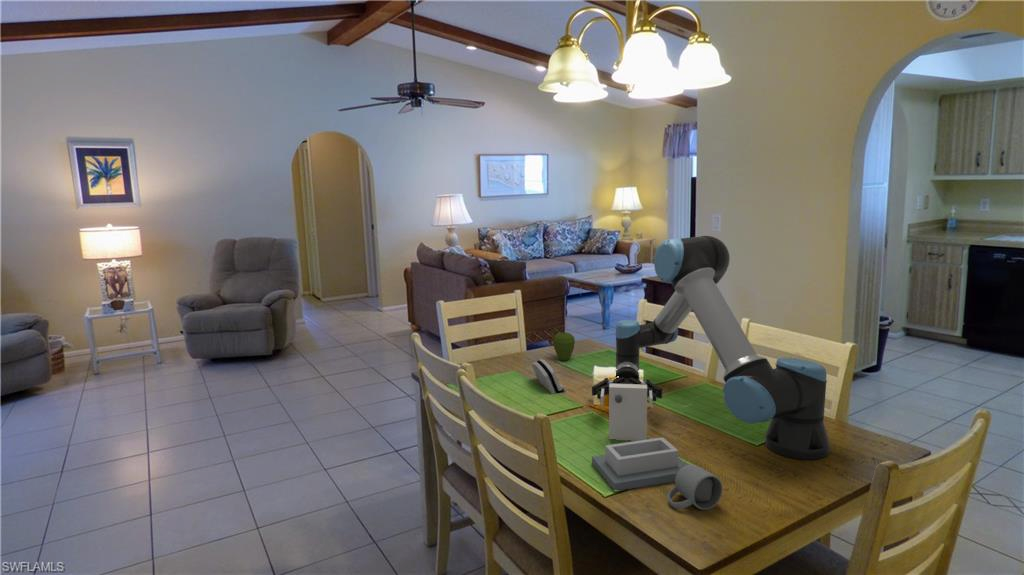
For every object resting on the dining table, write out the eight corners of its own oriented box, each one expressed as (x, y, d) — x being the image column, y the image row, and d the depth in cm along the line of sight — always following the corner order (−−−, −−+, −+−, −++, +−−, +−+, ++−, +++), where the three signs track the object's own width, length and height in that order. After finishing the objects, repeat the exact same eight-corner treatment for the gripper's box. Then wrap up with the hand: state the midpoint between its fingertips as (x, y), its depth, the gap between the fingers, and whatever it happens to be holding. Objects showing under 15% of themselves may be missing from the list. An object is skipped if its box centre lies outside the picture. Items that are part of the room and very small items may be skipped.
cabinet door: (646, 436, 165) (646, 384, 162) (646, 443, 161) (647, 390, 158) (609, 434, 167) (609, 383, 164) (608, 441, 163) (608, 388, 160)
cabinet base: (664, 453, 155) (665, 431, 154) (693, 478, 142) (694, 454, 141) (591, 464, 150) (591, 441, 149) (614, 491, 137) (614, 467, 136)
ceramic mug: (699, 488, 137) (699, 457, 136) (723, 505, 130) (723, 473, 128) (659, 498, 134) (659, 466, 132) (681, 517, 126) (682, 483, 125)
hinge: (566, 392, 201) (556, 366, 198) (554, 398, 200) (543, 372, 197) (550, 377, 217) (540, 352, 214) (538, 382, 216) (528, 358, 213)
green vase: (579, 360, 235) (579, 331, 233) (562, 364, 230) (561, 335, 228) (566, 355, 242) (565, 327, 240) (549, 359, 238) (548, 331, 236)
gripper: (667, 390, 187) (671, 416, 167) (587, 387, 192) (581, 412, 172) (668, 367, 186) (672, 391, 166) (587, 364, 191) (581, 387, 171)
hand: (626, 402), depth 169 cm, fingers open, 13 cm apart
